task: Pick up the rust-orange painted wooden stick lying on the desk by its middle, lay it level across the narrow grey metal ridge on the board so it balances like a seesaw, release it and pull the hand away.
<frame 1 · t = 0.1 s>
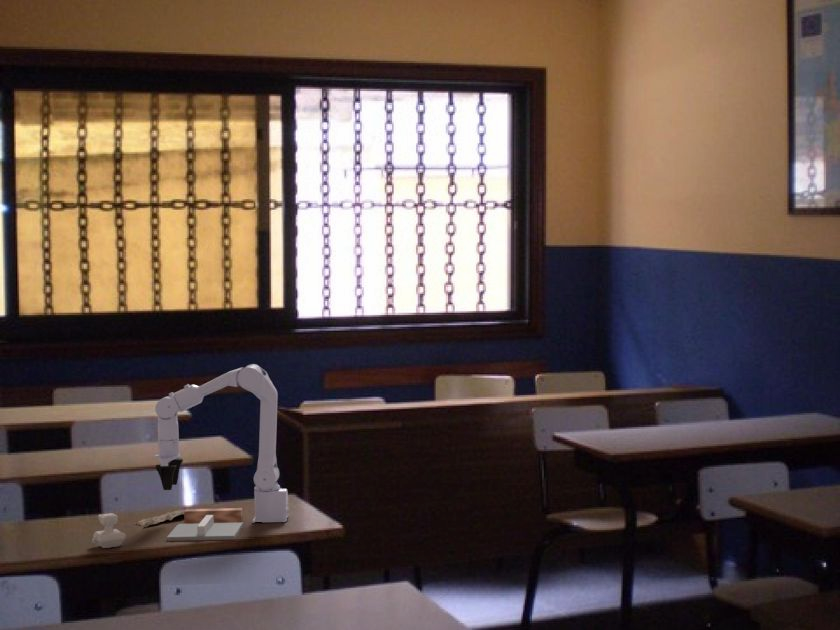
hand: (170, 487, 361), 10 cm above the table, fingers open, 7 cm apart
stick: (213, 523, 360), on the table
stamp: (109, 547, 334), on the table
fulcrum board: (205, 533, 347), on the table
stone fragment: (168, 522, 365), on the table
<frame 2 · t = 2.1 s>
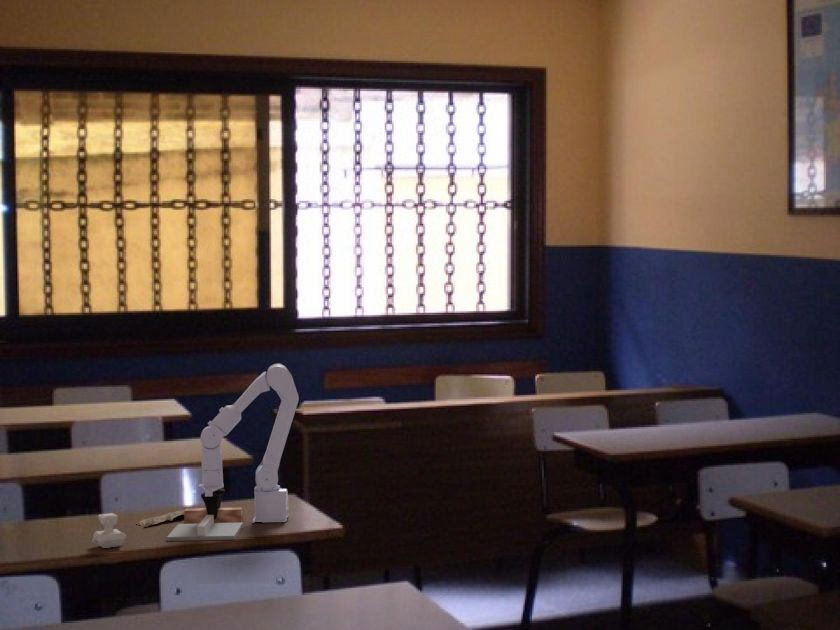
hand: (213, 517, 360), 2 cm above the table, fingers closed on stick, 3 cm apart
stick: (213, 523, 360), on the table, touching gripper
everything else where it was.
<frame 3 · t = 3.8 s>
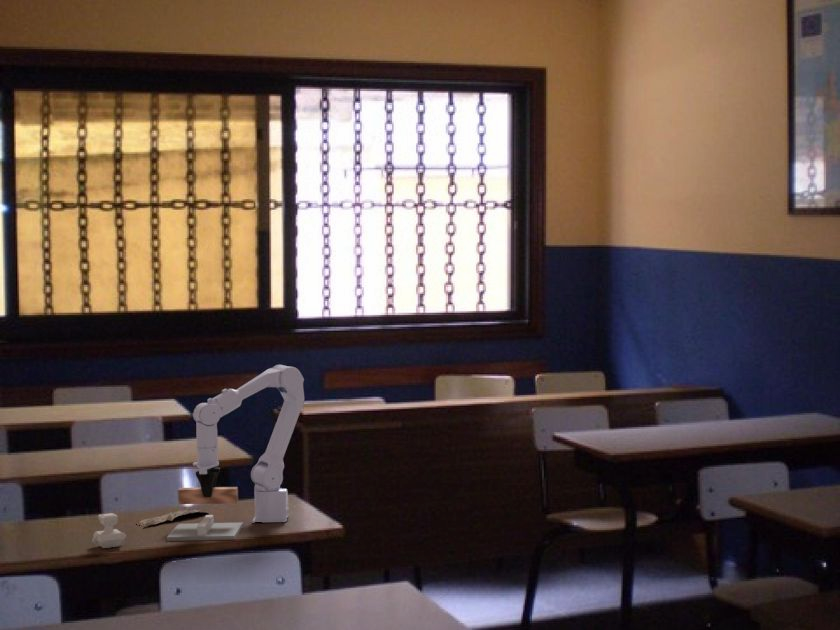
hand: (208, 495, 353), 9 cm above the table, fingers closed on stick, 3 cm apart
stick: (208, 502, 353), point 7 cm above the table, touching gripper
everything else where it was.
when the fingers open (6 cm above the table, at t = 5.2 s): stick stays where it is, resting on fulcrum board.
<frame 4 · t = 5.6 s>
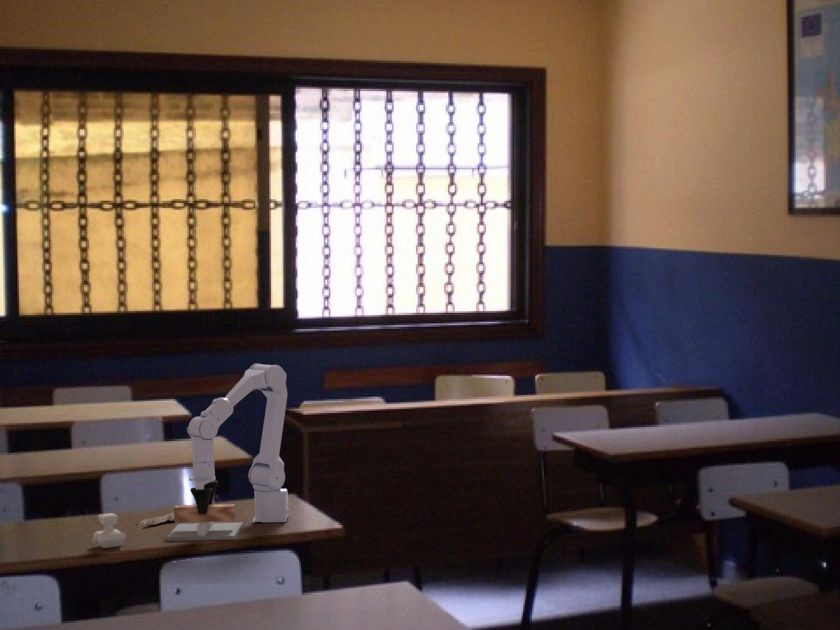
hand: (205, 511, 346), 6 cm above the table, fingers open, 7 cm apart
stick: (205, 520, 346), point 3 cm above the table, touching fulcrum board
everything else where it was.
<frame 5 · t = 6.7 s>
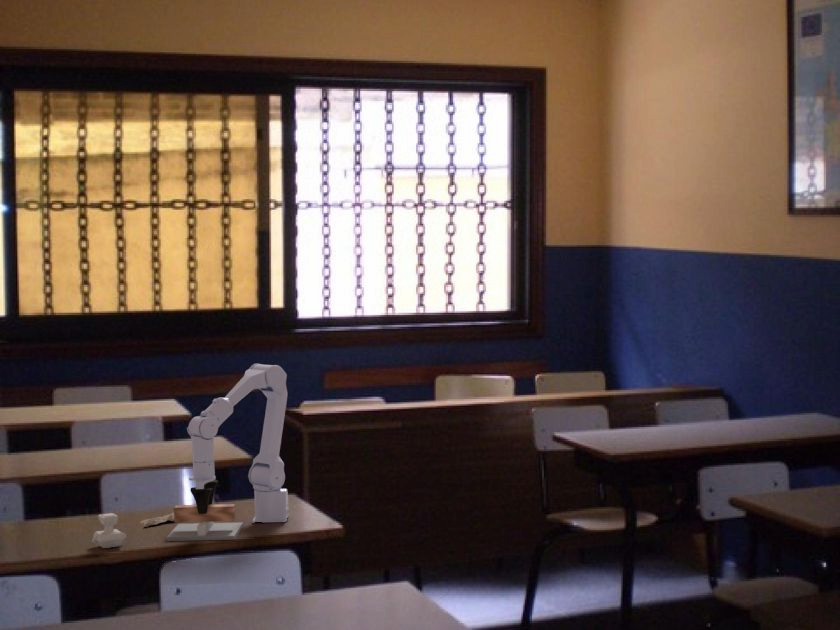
hand: (205, 510, 346), 6 cm above the table, fingers open, 7 cm apart
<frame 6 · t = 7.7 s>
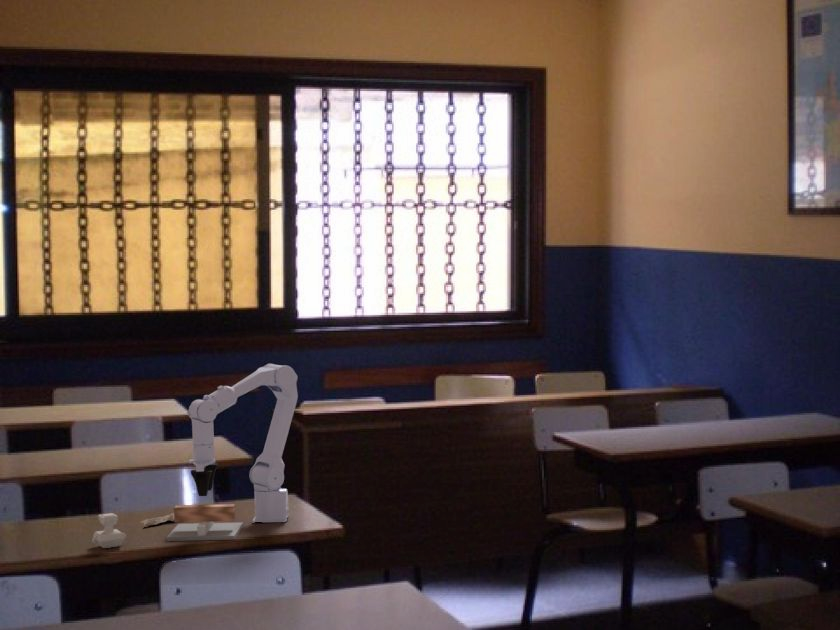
hand: (205, 493, 349), 10 cm above the table, fingers open, 7 cm apart
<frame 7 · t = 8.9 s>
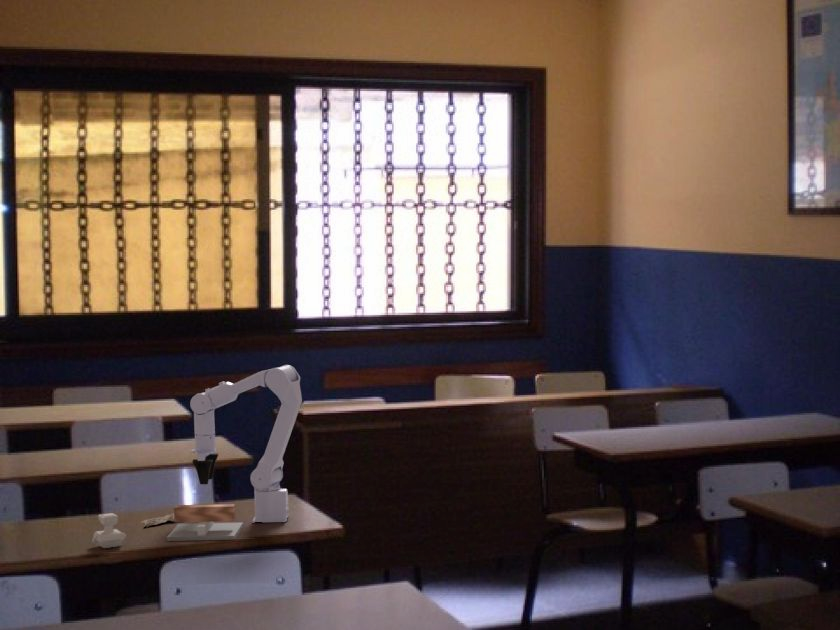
hand: (206, 481, 366), 10 cm above the table, fingers open, 7 cm apart
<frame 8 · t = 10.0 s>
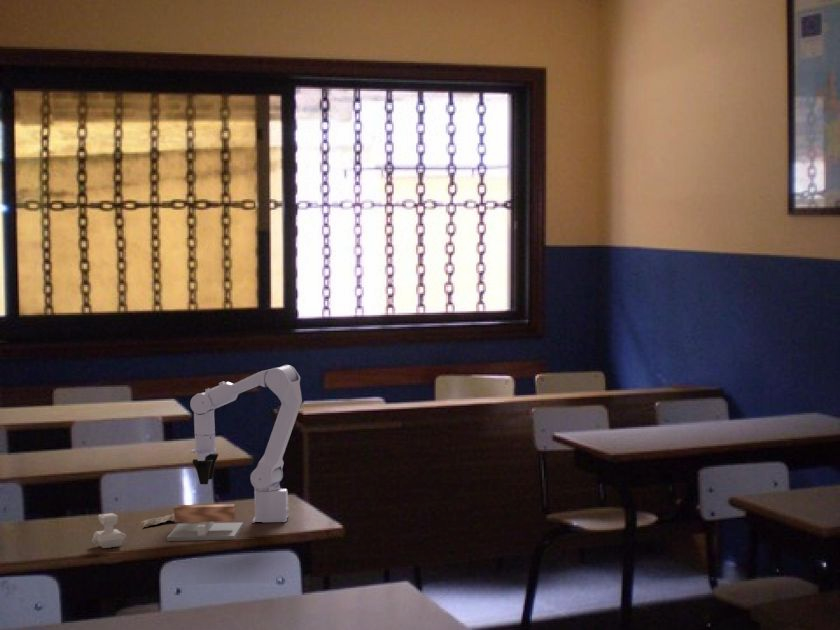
hand: (206, 481, 366), 10 cm above the table, fingers open, 7 cm apart
at the end: stick 0.1 cm from the target spot, point 3.5 cm above the table; stick tilted 0°; the gripper is holding nothing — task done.
